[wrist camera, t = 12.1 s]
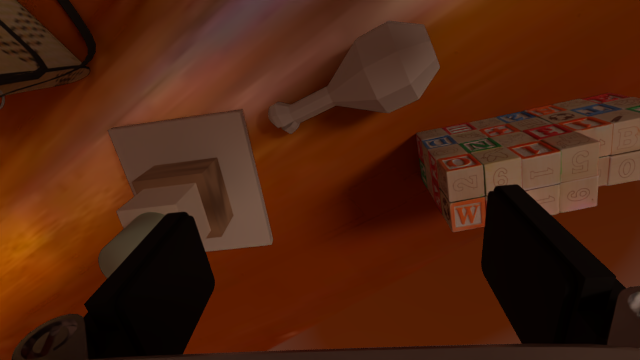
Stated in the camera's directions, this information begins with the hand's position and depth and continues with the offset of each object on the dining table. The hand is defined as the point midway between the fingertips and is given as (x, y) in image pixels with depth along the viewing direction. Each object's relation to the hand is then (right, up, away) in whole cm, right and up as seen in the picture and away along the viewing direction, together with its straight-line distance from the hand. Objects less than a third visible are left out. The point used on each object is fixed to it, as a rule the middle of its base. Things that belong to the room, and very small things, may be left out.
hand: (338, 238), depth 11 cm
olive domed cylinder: (-17, -3, +22) cm, 28 cm away
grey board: (-16, +1, +32) cm, 36 cm away
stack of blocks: (+22, +7, +29) cm, 37 cm away
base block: (-16, 0, +31) cm, 35 cm away
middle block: (-17, -2, +27) cm, 31 cm away
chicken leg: (+2, +13, +27) cm, 30 cm away
